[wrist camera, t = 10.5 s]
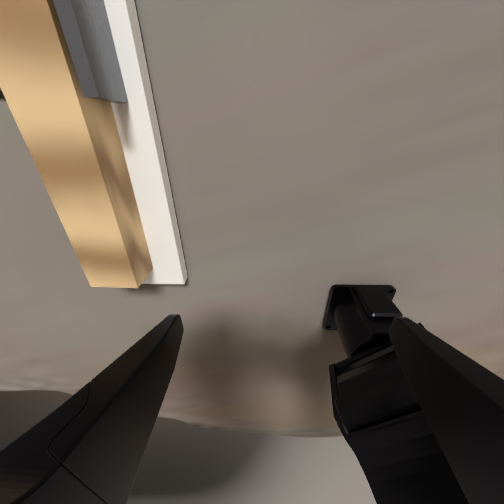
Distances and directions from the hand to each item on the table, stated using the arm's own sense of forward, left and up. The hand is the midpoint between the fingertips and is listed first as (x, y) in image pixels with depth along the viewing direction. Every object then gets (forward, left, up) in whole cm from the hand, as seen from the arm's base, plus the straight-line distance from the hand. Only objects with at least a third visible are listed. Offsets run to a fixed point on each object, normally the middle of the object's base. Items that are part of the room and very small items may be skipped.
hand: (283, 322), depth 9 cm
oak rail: (+5, +13, -10) cm, 17 cm away
